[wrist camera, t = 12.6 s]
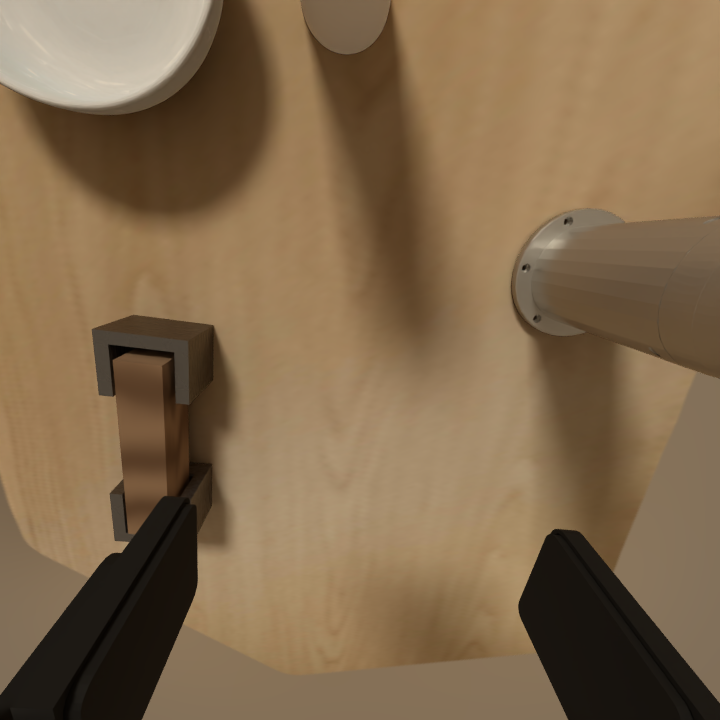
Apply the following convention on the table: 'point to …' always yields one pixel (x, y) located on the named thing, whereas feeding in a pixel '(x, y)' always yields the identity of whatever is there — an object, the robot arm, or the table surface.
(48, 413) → the table surface
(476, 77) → the table surface
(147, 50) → the serving bowl
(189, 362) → the bracket
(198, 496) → the bracket
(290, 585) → the table surface
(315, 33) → the cylindrical container
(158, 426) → the walnut rail
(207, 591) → the table surface
